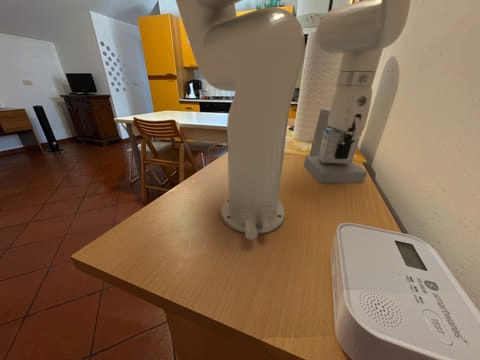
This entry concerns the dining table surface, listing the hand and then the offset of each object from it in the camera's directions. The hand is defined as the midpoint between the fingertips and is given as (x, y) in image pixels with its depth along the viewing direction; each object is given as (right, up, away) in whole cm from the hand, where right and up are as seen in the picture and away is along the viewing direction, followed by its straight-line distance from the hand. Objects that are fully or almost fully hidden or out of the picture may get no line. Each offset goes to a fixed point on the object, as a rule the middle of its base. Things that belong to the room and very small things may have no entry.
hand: (335, 154), depth 53 cm
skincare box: (+4, +1, +15) cm, 16 cm away
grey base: (0, -5, +3) cm, 6 cm away
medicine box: (0, -2, +1) cm, 2 cm away
